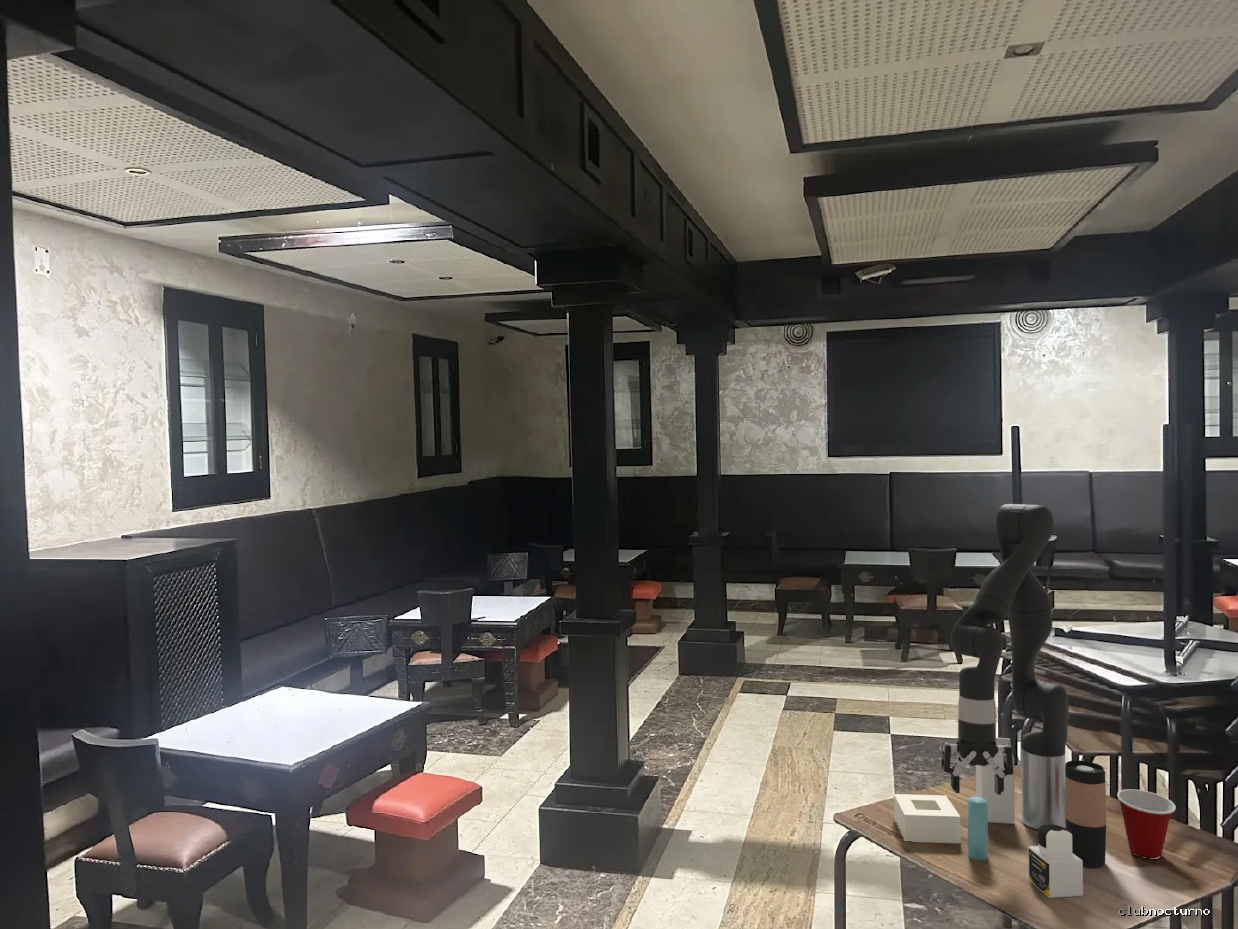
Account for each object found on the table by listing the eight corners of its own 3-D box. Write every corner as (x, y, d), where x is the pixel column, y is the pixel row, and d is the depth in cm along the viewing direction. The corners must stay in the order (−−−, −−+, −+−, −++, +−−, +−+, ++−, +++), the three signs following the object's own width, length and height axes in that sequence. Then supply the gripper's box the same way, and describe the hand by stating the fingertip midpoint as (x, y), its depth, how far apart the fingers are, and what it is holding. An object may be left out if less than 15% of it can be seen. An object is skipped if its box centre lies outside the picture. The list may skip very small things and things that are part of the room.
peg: (984, 852, 186) (984, 797, 186) (990, 861, 183) (990, 804, 182) (965, 851, 187) (965, 796, 187) (971, 860, 183) (970, 804, 183)
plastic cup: (1152, 870, 178) (1152, 812, 178) (1105, 848, 188) (1105, 793, 188) (1188, 860, 182) (1188, 804, 182) (1140, 839, 192) (1140, 786, 192)
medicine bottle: (1028, 881, 174) (1027, 822, 174) (1061, 879, 174) (1061, 820, 174) (1048, 899, 167) (1048, 837, 167) (1083, 896, 167) (1083, 835, 167)
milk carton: (1014, 824, 200) (1013, 743, 200) (982, 822, 202) (981, 742, 202) (1007, 812, 207) (1006, 734, 207) (976, 810, 209) (975, 732, 209)
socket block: (946, 821, 203) (945, 795, 203) (960, 843, 191) (960, 816, 191) (893, 819, 204) (893, 794, 204) (905, 841, 192) (904, 814, 192)
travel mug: (1057, 856, 184) (1056, 763, 184) (1082, 849, 187) (1081, 758, 187) (1089, 872, 177) (1088, 775, 177) (1115, 864, 180) (1114, 769, 180)
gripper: (1005, 713, 188) (1005, 787, 188) (938, 711, 189) (938, 785, 189) (1017, 723, 180) (1017, 801, 180) (947, 721, 182) (947, 798, 182)
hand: (977, 792), depth 185 cm, fingers open, 8 cm apart
